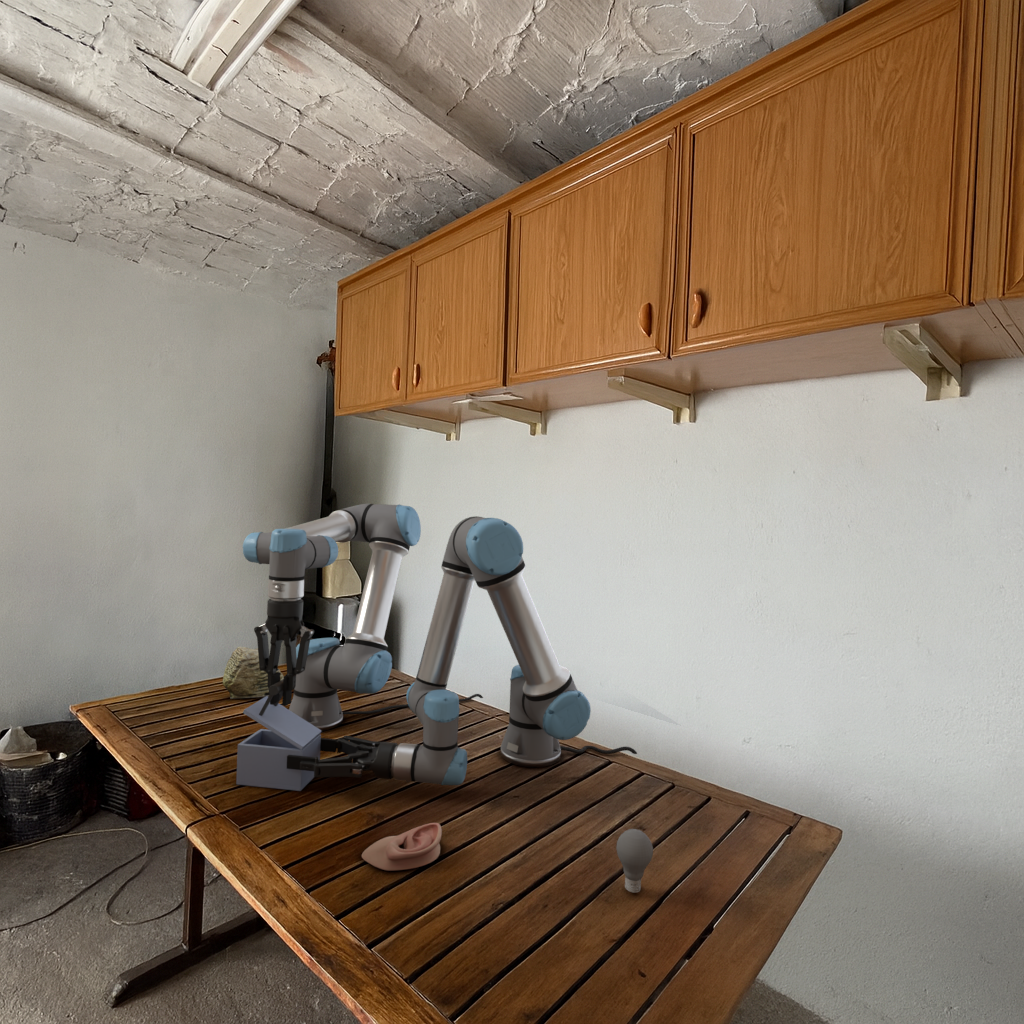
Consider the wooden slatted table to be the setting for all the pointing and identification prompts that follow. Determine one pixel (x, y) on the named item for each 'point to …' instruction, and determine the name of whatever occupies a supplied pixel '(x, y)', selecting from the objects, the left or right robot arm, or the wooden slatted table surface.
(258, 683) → the fossil
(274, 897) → the wooden slatted table surface
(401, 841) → the anatomical model
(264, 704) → the lid
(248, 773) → the chest
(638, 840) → the light bulb
